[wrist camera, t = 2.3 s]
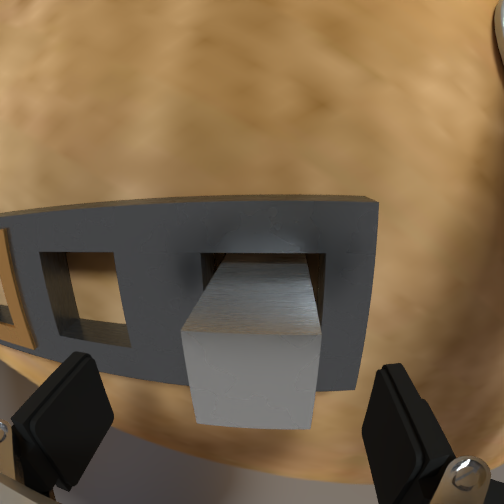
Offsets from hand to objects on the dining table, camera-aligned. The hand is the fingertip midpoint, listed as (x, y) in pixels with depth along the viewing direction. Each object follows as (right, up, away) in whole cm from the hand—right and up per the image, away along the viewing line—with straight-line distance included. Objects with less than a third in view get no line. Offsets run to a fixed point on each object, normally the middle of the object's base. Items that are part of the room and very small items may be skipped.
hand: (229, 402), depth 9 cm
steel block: (+1, +3, +8) cm, 8 cm away
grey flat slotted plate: (-9, +3, +9) cm, 12 cm away
